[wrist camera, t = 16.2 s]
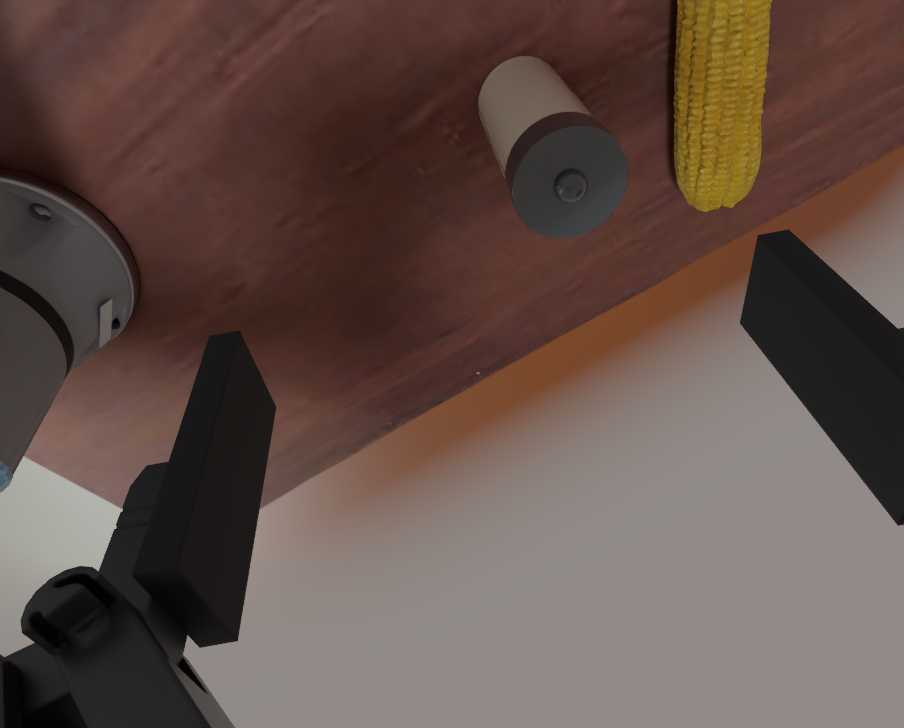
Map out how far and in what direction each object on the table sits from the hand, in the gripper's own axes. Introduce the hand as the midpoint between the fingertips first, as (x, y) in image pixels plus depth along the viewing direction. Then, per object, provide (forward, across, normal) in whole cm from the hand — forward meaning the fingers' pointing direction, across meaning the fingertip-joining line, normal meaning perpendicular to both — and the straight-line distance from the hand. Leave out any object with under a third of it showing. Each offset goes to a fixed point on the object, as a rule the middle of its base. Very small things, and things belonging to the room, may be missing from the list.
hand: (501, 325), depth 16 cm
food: (+31, +18, -4) cm, 36 cm away
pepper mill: (+31, +6, -5) cm, 32 cm away
